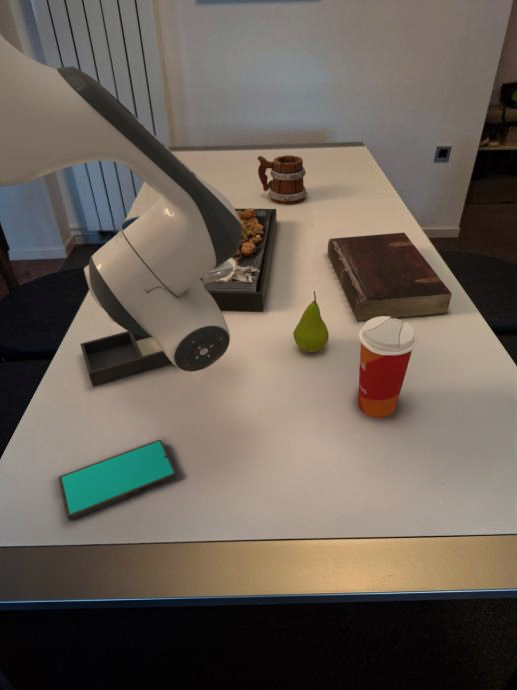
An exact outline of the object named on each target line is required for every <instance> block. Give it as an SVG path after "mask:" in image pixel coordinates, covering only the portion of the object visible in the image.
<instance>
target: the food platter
mask: <svg viewBox="0 0 517 690" xmlns="http://www.w3.org/2000/svg"><path fill="white" fill-rule="evenodd" d="M234 209H235V211H236V212H237V214H238V216H239V219H240V223H241V224H242V234H241V240H240V244H239V248H238V251H237V254H236V255H235V256H233V257H232V258H230V259H229V260H227V261H229V262H230V263H231V265H232V266H233V271H232V272H231V273H229V274H227V277H224V278H221V279H219V280H217V281H213V282H209V283H205V284H203V285H204V288H205V290H207V291H208V292H209V293H210V295H211V296H212V297H213V299H214V300H215V302H216V303H217V305H218V307H219V309H220V310H221V312H251V313H253V312H255V313H264V309H265V302H266V295H267V289H268V284H269V283H268V281H269V276H270V269H271V263H272V256H273V249H274V243H275V237H276V232H277V231H276V230H277V223H278V221H277V219H278V217H277V208H253V207H248V208H234Z"/></svg>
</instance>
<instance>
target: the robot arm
mask: <svg viewBox="0 0 517 690" xmlns="http://www.w3.org/2000/svg"><path fill="white" fill-rule="evenodd" d="M93 162H114V163H118V164H121V165H123V166H124V167H126V168H127V169H129V170H130V171H131V172H132V173H133V174H135V175H136V176H137V177H138V178H139V179H141V180H142V181H143V182H144V183H146V184H147V185H148V186H149V187H150V188H152V189H153V190H154V191H156V192H157V194H158V195H160V197H159V199H158V200H157V202H155V204H153V205H152V206H151V207H150V208H149V209H147V210H146V211H145V212H143V213H142V214H141V215H139V216H140V217H139V218H138V219H137V220H135V221H134V222H133V223H132V224H130V225H129V226H128V227H127V228H126V229H124V230H122V231H121V232H120V231H119V232H118V233H117V234H115V235H114V236H113V237H112V238H111V239H109V240H108V241H107V242H106V243H104V245H102V246H101V247H100V248H99V249H98V250H96V251H95V252H94V253H93V254H92V255H91V256H90V258H89V263H88V265H86V266H85V267H84V268H83V272H84V276H85V280H86V284H87V286H88V290H89V292H90V295H91V296H92V298H93V300H94V301H95V302H96V304H97V305H98V306H99V307H100V308H101V309H103V310H104V312H105V313H106V314H107V316H108V319H109V320H110V321H111V322H112V323H116V324H117V325H119V326H120V327H121V328H123V329H124V330H125V331H129V332H132V333H135V334H138V335H141V336H146V337H151V336H152V337H153V338H154V339H155V340H156V342H157V343H158V344H159V346H160V347H161V349H162V350H163V352H164V353H165V354H166V356H167V357H168V358H169V360H170V361H171V362H172V363H173V365H174V367H176V368H177V369H178V370H180V371H183V372H187V373H188V372H190V373H191V372H192V373H193V372H199V371H202V370H205V369H206V368H209V367H210V366H212V365H213V364H215V363H216V362H217V361H218V360H219V359H221V357H223V356H224V354H225V353H226V352H227V350H228V348H229V346H230V342H231V333H230V329H229V326H228V323H227V321H226V319H225V316H224V314H223V313H222V312H223V311H221V310H220V309H219V307H218V305H217V303H216V302H215V300H214V299H213V297H212V296H211V295H210V293H209V292H208V291H207V290H205V288H204V285H203V284H205V283H209V282H213V281H217V280H219V279H221V278H224V277H227V274H229V273H231V272H232V271H233V266H232V265H231V263H230V262H229V261H227V260H229V259H230V258H232V257H233V256H235V255H236V254H237V251H238V248H239V244H240V240H241V234H242V224H241V223H240V219H239V216H238V214H237V212H236V211H235V209H236V208H235V207H234V206H233V204H232V203H231V202H230V201H229V199H228V198H227V197H226V196H225V195H224V194H222V192H221V191H220V190H218V189H217V188H216V187H214V186H213V185H211V184H210V183H208V182H206V181H205V180H204V179H202V178H201V177H199V176H198V175H197V174H196V173H195V172H194V171H192V170H191V169H190V167H188V166H187V164H185V163H184V161H182V160H181V159H180V158H179V157H178V156H177V155H176V154H175V153H174V152H173V151H172V150H170V148H168V146H166V145H165V143H163V142H162V141H161V139H159V138H158V137H157V135H156V134H154V133H153V131H151V130H150V129H149V128H148V127H147V126H146V125H145V124H144V123H143V122H142V121H141V120H139V118H138V117H137V116H135V115H134V114H133V113H132V112H131V111H130V110H129V109H128V108H127V107H126V106H125V105H124V104H123V103H122V102H121V101H119V100H118V99H117V98H116V97H115V96H114V95H113V94H112V93H111V92H110V91H109V90H108V89H106V87H104V86H103V85H102V84H101V83H99V82H98V81H97V80H96V79H94V78H93V77H92V76H90V75H89V74H87V73H86V72H84V71H83V70H81V69H79V68H77V67H75V66H73V65H71V66H64V67H57V68H54V67H51V66H48V65H46V64H44V63H41V62H39V61H37V60H35V59H33V58H31V57H29V56H27V55H26V54H25V53H23V52H22V51H20V50H19V49H17V48H16V47H15V46H13V45H12V44H11V43H10V42H9V41H8V40H7V39H5V37H4V36H3V35H2V34H0V187H11V186H16V185H19V184H25V183H28V182H31V181H35V180H37V179H40V178H43V177H44V176H47V175H50V174H52V173H55V172H58V171H61V170H63V169H68V168H71V167H75V166H79V165H84V164H87V163H93Z"/></svg>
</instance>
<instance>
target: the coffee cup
mask: <svg viewBox="0 0 517 690" xmlns="http://www.w3.org/2000/svg"><path fill="white" fill-rule="evenodd" d="M358 339H359V341H360V350H359V351H360V352H359V368H358V370H359V372H358V391H357V404H358V408H359V410H360V411H361V412H362V413H363V414H364V415H366V416H369V417H372V418H376V419H384V418H387V417H389V416H391V415H393V413H394V412H395V410H396V408H397V404H398V401H399V398H400V395H401V391H402V388H403V385H404V381H405V377H406V374H407V370H408V366H409V362H410V359H411V356H412V352H413V350H414V349H415V348H416V347H417V346H416V345H417V341H418V340H417V339H418V338H417V337H416V333H415V330H414V327H413V326H412V325H411V324H410V323H408V322H407V321H403V320H401V319H399V318H391V317H388V316H381V317H375V318H372V319H370V320H368V321H365V323H364V324H363V326H362V328H360V331H359V332H358Z"/></svg>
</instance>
